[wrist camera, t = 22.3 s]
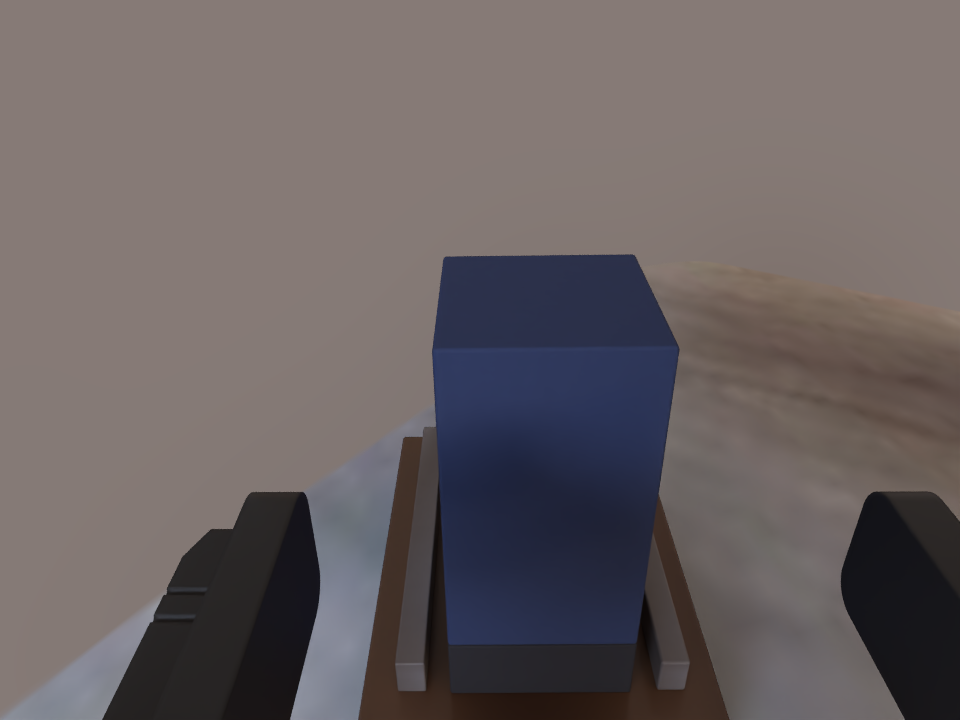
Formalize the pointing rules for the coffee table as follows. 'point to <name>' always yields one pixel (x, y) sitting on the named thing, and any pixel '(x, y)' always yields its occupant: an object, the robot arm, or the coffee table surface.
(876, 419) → the coffee table surface
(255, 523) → the robot arm
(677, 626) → the wooden base with rails
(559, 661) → the blue rectangular block
